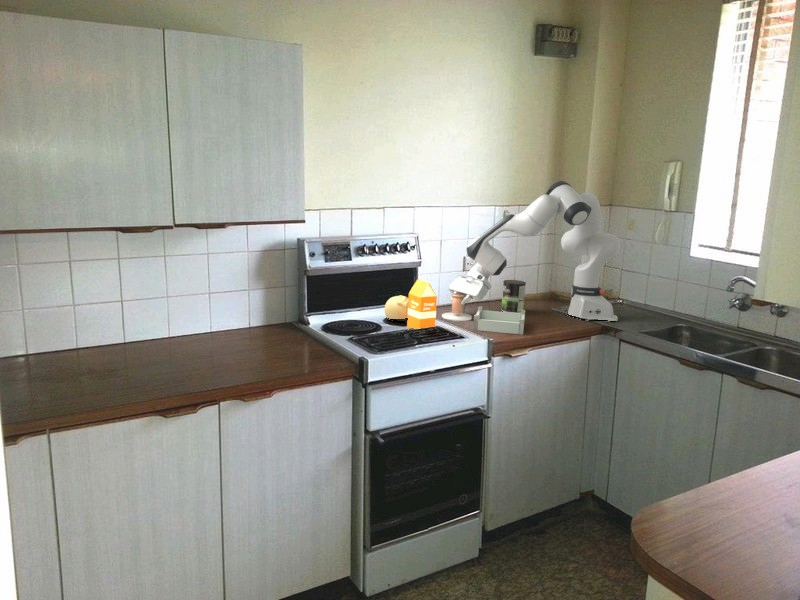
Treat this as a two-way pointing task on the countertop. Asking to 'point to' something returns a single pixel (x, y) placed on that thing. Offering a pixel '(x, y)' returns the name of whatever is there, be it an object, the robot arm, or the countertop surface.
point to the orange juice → (421, 306)
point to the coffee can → (513, 296)
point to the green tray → (499, 321)
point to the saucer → (456, 316)
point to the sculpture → (397, 307)
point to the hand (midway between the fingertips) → (456, 302)
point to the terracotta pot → (457, 303)
